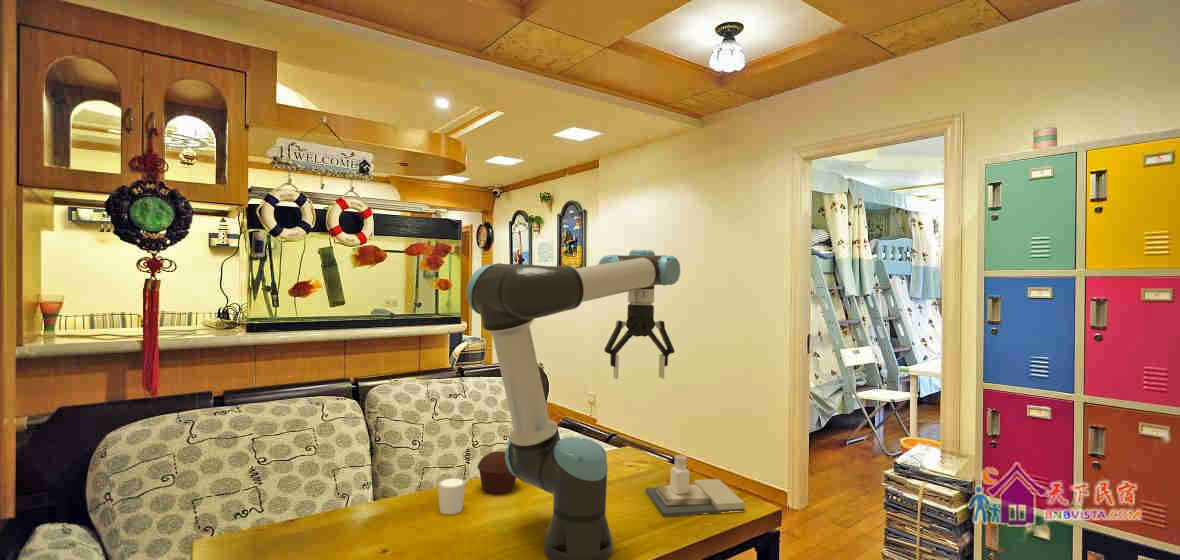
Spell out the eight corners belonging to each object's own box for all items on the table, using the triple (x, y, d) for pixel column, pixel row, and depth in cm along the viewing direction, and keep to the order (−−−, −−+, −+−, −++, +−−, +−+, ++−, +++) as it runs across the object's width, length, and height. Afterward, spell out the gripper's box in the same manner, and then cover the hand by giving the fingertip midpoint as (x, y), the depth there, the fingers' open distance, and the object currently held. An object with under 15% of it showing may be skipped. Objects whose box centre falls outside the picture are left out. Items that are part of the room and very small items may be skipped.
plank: (666, 505, 141) (666, 499, 141) (655, 491, 150) (656, 485, 150) (709, 504, 143) (709, 498, 143) (696, 490, 152) (697, 484, 152)
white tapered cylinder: (431, 511, 137) (432, 484, 136) (450, 501, 143) (450, 475, 143) (452, 517, 133) (453, 489, 133) (470, 507, 139) (471, 480, 139)
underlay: (663, 517, 137) (663, 506, 137) (645, 491, 153) (645, 482, 153) (743, 512, 141) (744, 502, 141) (718, 487, 157) (718, 479, 157)
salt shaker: (681, 488, 149) (683, 453, 149) (689, 494, 145) (691, 458, 145) (668, 489, 147) (670, 455, 147) (676, 495, 143) (678, 460, 143)
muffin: (523, 482, 157) (524, 448, 157) (513, 498, 146) (514, 461, 146) (483, 479, 158) (484, 445, 158) (471, 495, 147) (472, 458, 147)
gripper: (600, 303, 149) (598, 380, 149) (686, 305, 153) (684, 379, 153) (595, 302, 156) (593, 375, 156) (677, 303, 161) (675, 374, 161)
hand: (638, 377), depth 155 cm, fingers open, 13 cm apart
